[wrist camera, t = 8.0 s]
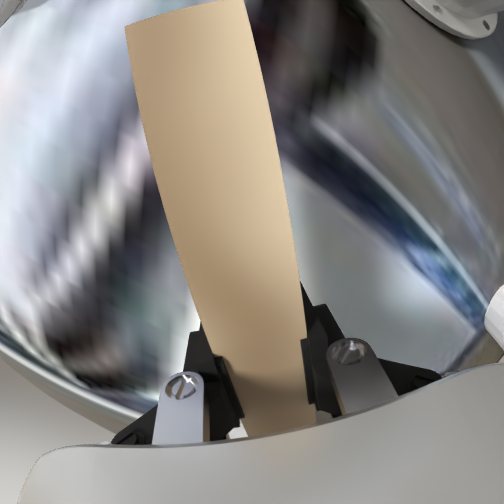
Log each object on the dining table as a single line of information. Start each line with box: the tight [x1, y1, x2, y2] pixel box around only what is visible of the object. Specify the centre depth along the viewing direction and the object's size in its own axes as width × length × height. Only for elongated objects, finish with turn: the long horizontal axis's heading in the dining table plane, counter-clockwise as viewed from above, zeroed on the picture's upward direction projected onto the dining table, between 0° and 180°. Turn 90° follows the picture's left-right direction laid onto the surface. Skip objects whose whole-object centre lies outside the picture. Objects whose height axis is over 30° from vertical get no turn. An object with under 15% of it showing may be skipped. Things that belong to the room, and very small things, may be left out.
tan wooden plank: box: [125, 0, 330, 439], centre depth 10 cm, size 7×19×4 cm, turn 12°
